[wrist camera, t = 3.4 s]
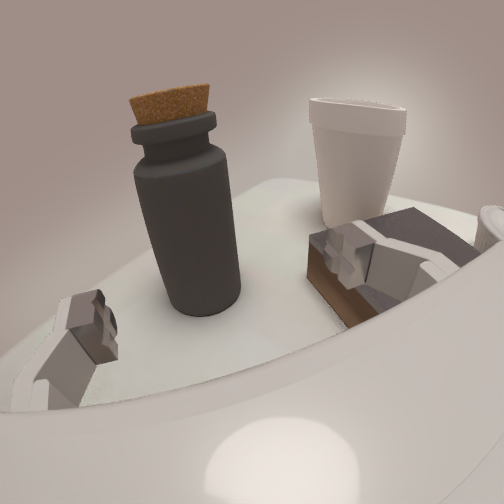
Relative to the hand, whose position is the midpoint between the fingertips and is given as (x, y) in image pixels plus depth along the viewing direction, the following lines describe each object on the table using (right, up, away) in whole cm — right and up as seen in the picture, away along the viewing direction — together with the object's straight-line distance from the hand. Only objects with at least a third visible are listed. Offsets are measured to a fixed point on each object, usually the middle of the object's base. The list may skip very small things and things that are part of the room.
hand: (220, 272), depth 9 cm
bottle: (-3, -2, +13) cm, 13 cm away
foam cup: (+12, +4, +20) cm, 24 cm away
